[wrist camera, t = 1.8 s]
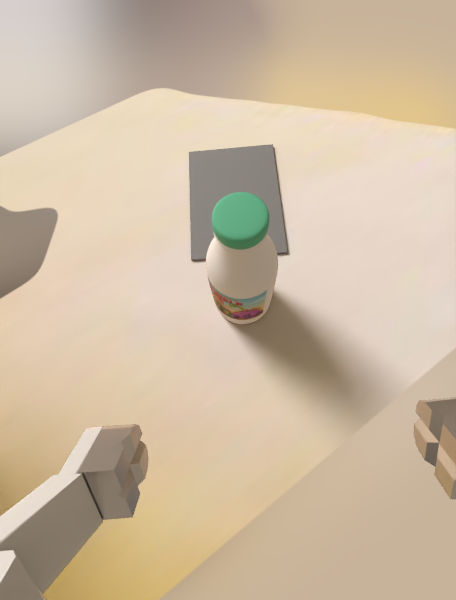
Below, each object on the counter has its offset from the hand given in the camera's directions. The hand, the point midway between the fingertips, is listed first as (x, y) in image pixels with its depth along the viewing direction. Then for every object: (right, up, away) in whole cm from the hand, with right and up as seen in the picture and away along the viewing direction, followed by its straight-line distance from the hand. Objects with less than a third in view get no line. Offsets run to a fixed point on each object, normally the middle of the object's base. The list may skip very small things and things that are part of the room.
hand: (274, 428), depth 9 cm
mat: (0, +20, +39) cm, 43 cm away
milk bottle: (+1, +4, +34) cm, 34 cm away
